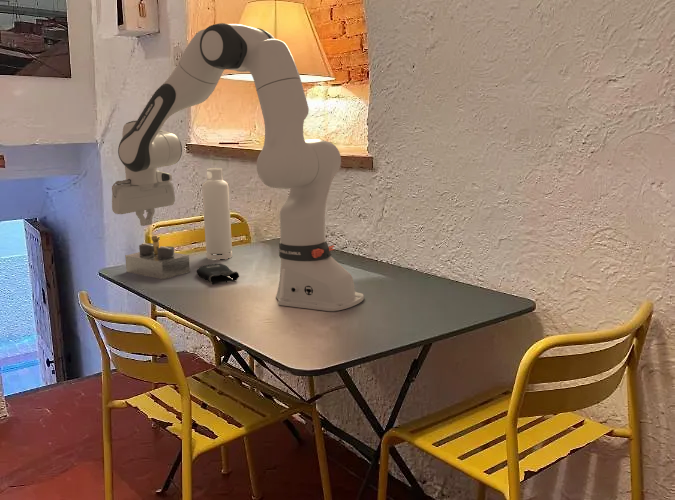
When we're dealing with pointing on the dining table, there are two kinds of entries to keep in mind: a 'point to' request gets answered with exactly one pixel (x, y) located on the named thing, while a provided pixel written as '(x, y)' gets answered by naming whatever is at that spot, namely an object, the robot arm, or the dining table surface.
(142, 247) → the knob far
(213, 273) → the black pouch
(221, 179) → the bottle
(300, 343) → the dining table surface
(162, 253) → the knob near
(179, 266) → the mount
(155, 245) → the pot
